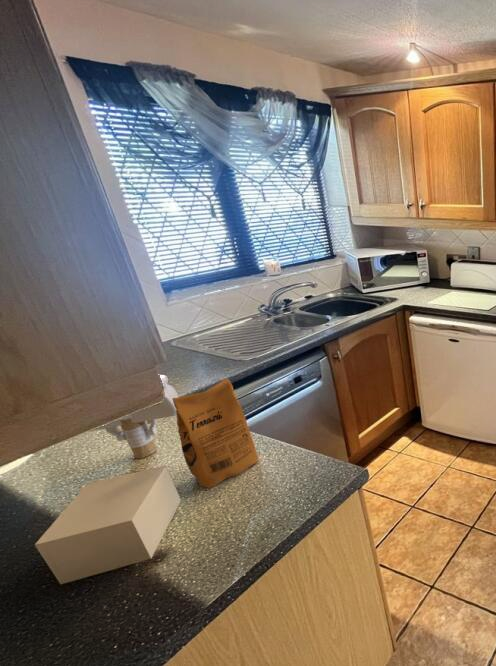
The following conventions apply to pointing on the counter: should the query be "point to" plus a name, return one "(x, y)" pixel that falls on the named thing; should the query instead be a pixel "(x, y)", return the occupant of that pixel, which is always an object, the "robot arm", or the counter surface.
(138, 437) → the sprinkles bottle
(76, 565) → the beige rectangular block
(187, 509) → the counter surface
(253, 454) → the coffee package
